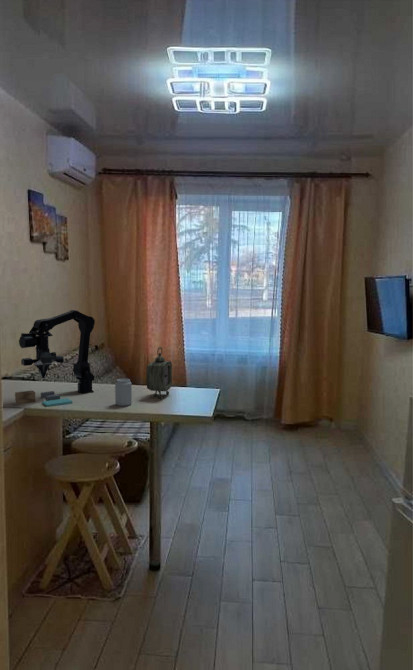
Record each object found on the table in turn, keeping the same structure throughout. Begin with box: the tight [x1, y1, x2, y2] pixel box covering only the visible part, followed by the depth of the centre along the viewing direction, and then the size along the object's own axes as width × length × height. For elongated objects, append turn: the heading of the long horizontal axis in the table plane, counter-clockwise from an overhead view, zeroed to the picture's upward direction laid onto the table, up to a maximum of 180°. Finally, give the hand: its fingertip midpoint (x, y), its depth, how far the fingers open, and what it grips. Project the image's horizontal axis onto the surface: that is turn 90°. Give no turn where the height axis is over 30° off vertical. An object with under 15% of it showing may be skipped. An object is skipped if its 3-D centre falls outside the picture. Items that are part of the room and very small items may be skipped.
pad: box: [41, 397, 73, 408], centre depth 224 cm, size 12×7×1 cm, turn 125°
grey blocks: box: [40, 390, 61, 401], centre depth 232 cm, size 6×11×2 cm, turn 35°
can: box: [114, 378, 133, 407], centre depth 222 cm, size 8×8×12 cm
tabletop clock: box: [145, 346, 173, 400], centre depth 238 cm, size 14×9×25 cm, turn 167°
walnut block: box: [14, 389, 37, 406], centre depth 225 cm, size 8×5×5 cm, turn 127°
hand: (43, 378), depth 230 cm, fingers closed
